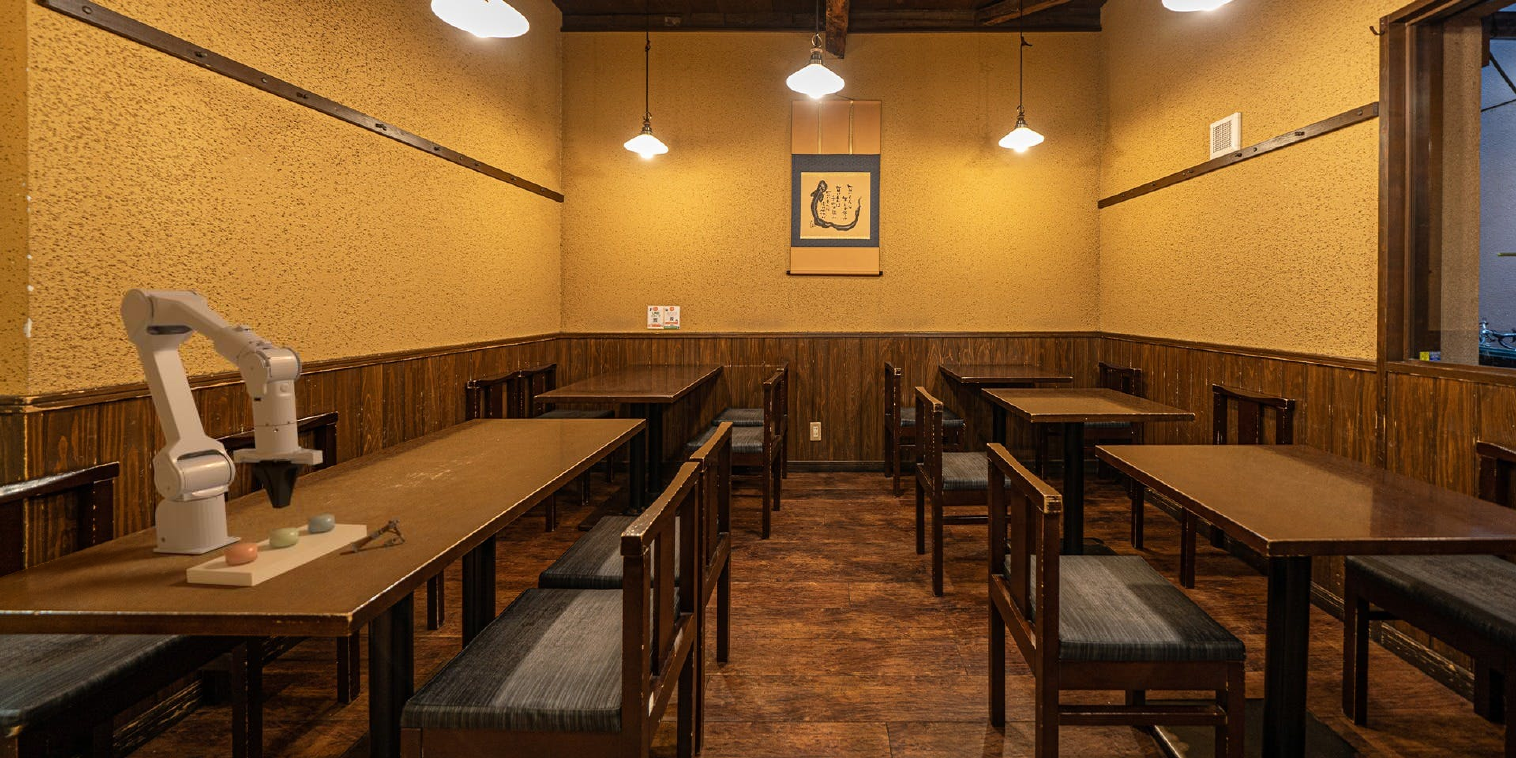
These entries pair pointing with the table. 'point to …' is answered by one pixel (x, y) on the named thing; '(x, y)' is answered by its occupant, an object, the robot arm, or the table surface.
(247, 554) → the orange rounded dome
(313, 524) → the slate button
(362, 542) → the wooden post with brackets
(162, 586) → the table surface
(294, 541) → the sage button
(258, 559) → the button panel
